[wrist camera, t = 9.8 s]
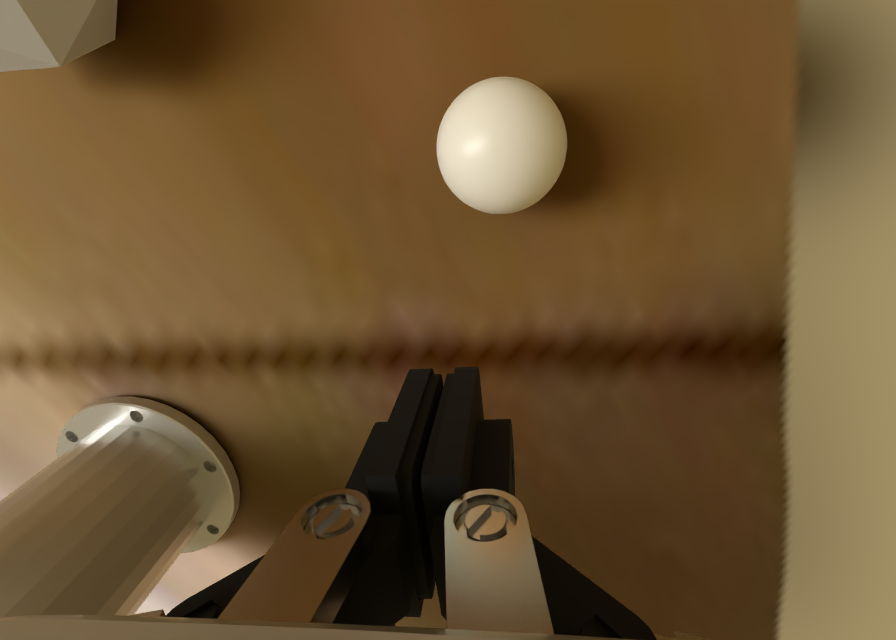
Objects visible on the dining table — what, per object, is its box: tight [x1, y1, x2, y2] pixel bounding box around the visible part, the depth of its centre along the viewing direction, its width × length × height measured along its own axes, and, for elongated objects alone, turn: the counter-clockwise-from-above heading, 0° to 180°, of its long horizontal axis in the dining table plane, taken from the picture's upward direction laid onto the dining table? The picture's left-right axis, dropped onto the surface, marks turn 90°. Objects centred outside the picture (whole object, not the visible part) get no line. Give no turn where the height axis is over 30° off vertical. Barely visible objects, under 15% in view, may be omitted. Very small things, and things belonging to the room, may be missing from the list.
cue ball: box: [437, 77, 567, 214], centre depth 21 cm, size 6×6×6 cm
